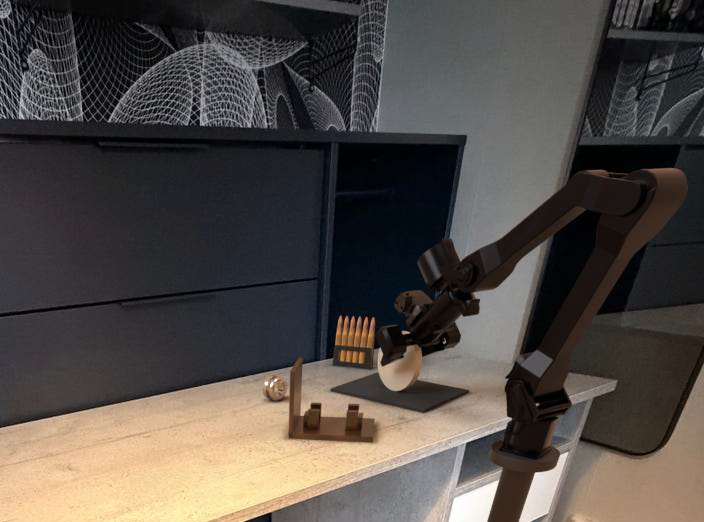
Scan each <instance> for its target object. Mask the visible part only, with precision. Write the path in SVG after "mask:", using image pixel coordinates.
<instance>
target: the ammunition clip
mask: <svg viewBox="0 0 704 522" xmlns="http://www.w3.org/2000/svg"><path fill="white" fill-rule="evenodd" d="M363 321H364V322H363V326H362V317H361V316H358V319H357V322H356V319H355V316H354V315H353V316H352V317H351V320H350V321H349V316H348V315H346V316H345V319H344V323H343V317H342V315H340V316H339V317H338V321H337V327H336V333H335V344H334V347H333V357H332V366H335V367H336V366H337V367H346V368H356V369H363V370H364V369H365V370H371V369H372V368H373V367H374V356H375V355H374V354H375V339H376V336H375V335H376V320H375V317H374V316H373V317H372V318H371V322H370V326H369V318H368V316H366V317H365V319H364V320H363ZM349 323H350V324H349ZM349 325H350V326H349Z"/></svg>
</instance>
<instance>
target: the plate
mask: <svg viewBox="0 0 704 522" xmlns="http://www.w3.org/2000/svg"><path fill="white" fill-rule="evenodd" d="M401 331H402V333H403V334H408V333H410V332H409V331H407V330H401ZM382 356H383V353H382V350H381V348H380V347H379V350H378V355H377V370H378V371H377V372H378V373H379V375H380V378H381V380H382V382H383V383H384V385H385V386H386V387H387V388H388V389H390V390H393V391H400V390H405V389H408V388H409V387H411V386H412V385H413V384H414V383H415V382H416V380H418V378H419V377H420V374H421V370H422V366H423V357H422V352H421V348H420V347H418V345H416V346H410V347H407V351H406V353H405V354H404V355H403V356H404V358H402V359H400V360H398V361H395V362H393V363H391V364H388V365H386V366H383V367H382V366H381V363H380V362H381V359H382Z"/></svg>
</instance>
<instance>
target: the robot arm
mask: <svg viewBox="0 0 704 522" xmlns="http://www.w3.org/2000/svg"><path fill="white" fill-rule="evenodd" d="M688 190H689V186H688V179H687V176H686V175H685V173H684V172H683V171H682V170H680V169H679V168H674V167H673V168H672V167H665V168H664V167H662V168H642V169H637V170H634V171H631V172H630V173H617V172H610V171H609V172H608V171H607V170H606V169H605V170H604V169H586V170H585V169H584V170H580V171H578V172H577V173H574V174H573V175H572V176H570V178H569V179H568V180H567V181H566V183H565V184H564V185H563V186H561V187H560V188H559V189H558V190H557V191H556V192H554V193H553V194H552V195H551V196H550V197H549V198H547V199H546V200H545V201H543V202H542V203H541V204H540V205H539V206H537V208H536V209H534V210H533V211H532V212H531V213H530V214H529V215H527V216H525V217H524V219H522V220H521V221H520V222H519V223H517V224H516V225H515V226H514V227H513V228H511V230H509V231H508V232H507V233H505V234H504V235H503V236H502V237H500V238H499V239H497V240H495V241H493V242H491V243H489V244H487V245H484V246H482V247H480V248H478V249H476V250H475V251H473V252H471V253H470V254H468V255H466V256H464V257H463V258H462V259H460V257H459V255H458V253H457V251H456V249H455V244H454V240H453V239H452V238H442V239H441V240H440V241H439V243H437V244H435V245H433V246H432V247H430V248H428V249H427V250H426V251H424V252H423V253H421V254H420V256H419V258H418V259H417V265H418V268H419V270H420V273H421V275H422V277H423V279H424V282H425V284H426V286H427V288H428V290H429V291H430V292H435V291H436V292H437V293H439V294H438V295H437V296H436V297H435V298H434V299H433V300H432V299H431V297H430V296H428V295H427V294H426V293H425V292H424V291H423V290H420V289H415V290H408V291H404V292H402V293H399V296H397V297H396V298H395V302H394V303H393V305H394V309H395V310H396V311H397V312H398V313H399V314H403V315H405V317H407V319H406V320H405V324H406V326H407V327H409V330H408V332H410V333H408V334H403V333H402V331H403V330H402V328H401V327H400V325H399V324H389V325H384V326H383V325H382V326H380V328H379V329H378V330H377V331H376V332H375V339H376V341H377V343H378V346H379V349H380V348H381V350H382V353H383V356H382V359H381V362H380V363H381V366H382V367H383V366H386V365H388V364H391V363H393V362H395V361H398V360H400V359H402V358H404V356H403V355H404V354H405V353H406V351H407V347H410V346H416V345H418V347H420V348H421V352H422V358H424V357H428V356H430V355H434V354H437V353H439V352H444V351H445V350H447V349H454V348H456V346H457V345H458V344H460V342H461V339H462V334H461V332H460V329H459V327H458V325H457V323H456V322H457V320H458V319H459V318H460V317H461V316H462V317H463V318H465V317H473V316H478V315H479V314H480V310H481V307H480V302H481V299H480V298H476V296H475V293H480V292H487V291H493V290H495V289H497V288H498V287H500V286H501V285H502V284H503V282H505V280H507V279H508V278H509V276H511V275H512V274H513V273H514V270H515V269H516V267H517V265H518V264H519V262H520V261H522V259H523V258H524V257H525V256H527V255H529V254H530V253H531V252H532V251H533V250H535V249H537V248H538V247H540V246H541V245H542V244H543V243H544V242H546V241H547V240H548V239H550V237H551V238H552V236H554V235H555V234H556V233H558V232H559V231H560V230H562V229H563V228H564V227H565V226H566V225H568V224H570V222H572V221H573V220H575V219H576V218H577V217H579V216H580V215H581V214H583V213H584V212H585V211H590V212H595V213H599V214H600V213H601V214H600V216H599V219H598V221H597V226H596V235H595V236H596V237H595V246H594V248H593V250H592V252H591V254H590V256H589V257H588V259H587V261H586V262H585V264H584V266H583V268H582V270H581V272H580V273H579V274H578V277H577V278H576V280H575V282H574V284H573V286H572V287H571V289H570V291H569V293H568V294H567V296H566V298H565V300H564V301H563V303H562V305H561V307H560V308H559V310H558V312H557V314H556V316H555V317H554V319H553V320H552V323H551V324H550V326H549V329H548V330H547V331H546V333H545V334H544V337H543V338H542V340H541V342H540V343H539V345H538V347H537V348H536V349H535V350H534V351H533V352H528V353H522V354H519V355H518V356H517V357H516V359H515V360H514V363H513V366H512V368H511V370H510V371H509V372H508V374H507V375H505V377H504V378H505V380H506V382H505V385H504V391H503V392H504V393H505V398H506V399H505V401H506V417H507V418H510V419H511V420H509V421H507V423H506V426H505V431H504V434H503V438H502V440H503V441H502V444H503V446H501V447H500V448H499V450H500V451H503V452H507V453H511V454H515V455H519V456H522V457H526V458H530V459H534V460H536V459H539V458H540V457H542V456H543V455H545V454H546V453H548V452H549V451H551V450H552V447H551V446H552V445H551V442H552V439H553V436H554V433H555V430H556V427H557V424H558V421H559V418H560V416H564V415H567V413H568V411H570V409H571V408H572V406H573V402H572V400H571V399H570V396H569V393H568V392H567V390H566V388H565V386H564V385H565V382H566V380H567V378H568V376H569V373H570V364H571V355H572V354H573V352H574V350H575V349H576V348H577V346H578V344H579V343H580V341H581V339H582V338H583V336H584V335H585V333H586V331H587V330H588V328H589V326H590V325H591V323H592V321H594V318H595V317H596V315H597V314H598V313H599V310H600V309H601V307H602V306H603V304H604V303H605V301H606V299H607V298H608V296H609V294H611V291H612V290H613V288H614V286H615V285H616V283H617V282H618V280H619V278H620V277H621V276H622V275H623V272H624V271H625V269H626V267H627V265H628V264H629V263H630V261H631V260H632V258H633V257H634V255H635V254H636V253H637V252H639V251H640V250H641V249H642V248H643V247H644V246H645V245H646V244H647V243H649V241H651V240H652V239H653V238H654V237H655V236H656V235H658V233H659V232H661V230H662V229H663V228H664V226H665V225H666V224H667V223H668V222H669V220H671V218H672V217H673V216H674V215H675V213H676V212H677V211H678V209H679V208H680V207H681V205H682V204H683V203H684V201H685V199H686V196H687V194H688V192H689V191H688ZM549 445H551V446H549Z"/></svg>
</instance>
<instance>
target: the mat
mask: <svg viewBox="0 0 704 522" xmlns="http://www.w3.org/2000/svg"><path fill="white" fill-rule="evenodd" d="M330 392H333V393H338V394H343V395H346V396H351V397H354V398H358V399H364V400H367V401H372V402H376V403H381V404H385V405H388V406H389V405H390V406H392V407H393V406H394V407H398V408H402V409H406V410H410V411H415V412H418V413H423V414H424V413H426V412H428V411H430V410H432V409H435V408H437V407H439V406H440V407H441V406H442V405H444V404H446V403H449V402H450V401H453V400H456V399H457V398H460V397H462V396H465V395H467V394H468V393H470V389H467V388H462V387H456V386H452V385H446V384H441V383H435V382H430V381H425V380H419V379H417V380H416V382H415V383H414V384H413V385H412V386H411V387H409V388H408V389H405V390H400V391H393V390H390V389H388V388H387V387H386V386H385V385H384V383H383V382H382V380H381V378H380V375H379V371H377V372H375V373H371V374H369V375H368V374H367V375H366V376H362V377H360V378H356V379H354V380H352V381H349V382H345V383H341V384H340V385H337V386H334V387H330Z"/></svg>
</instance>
